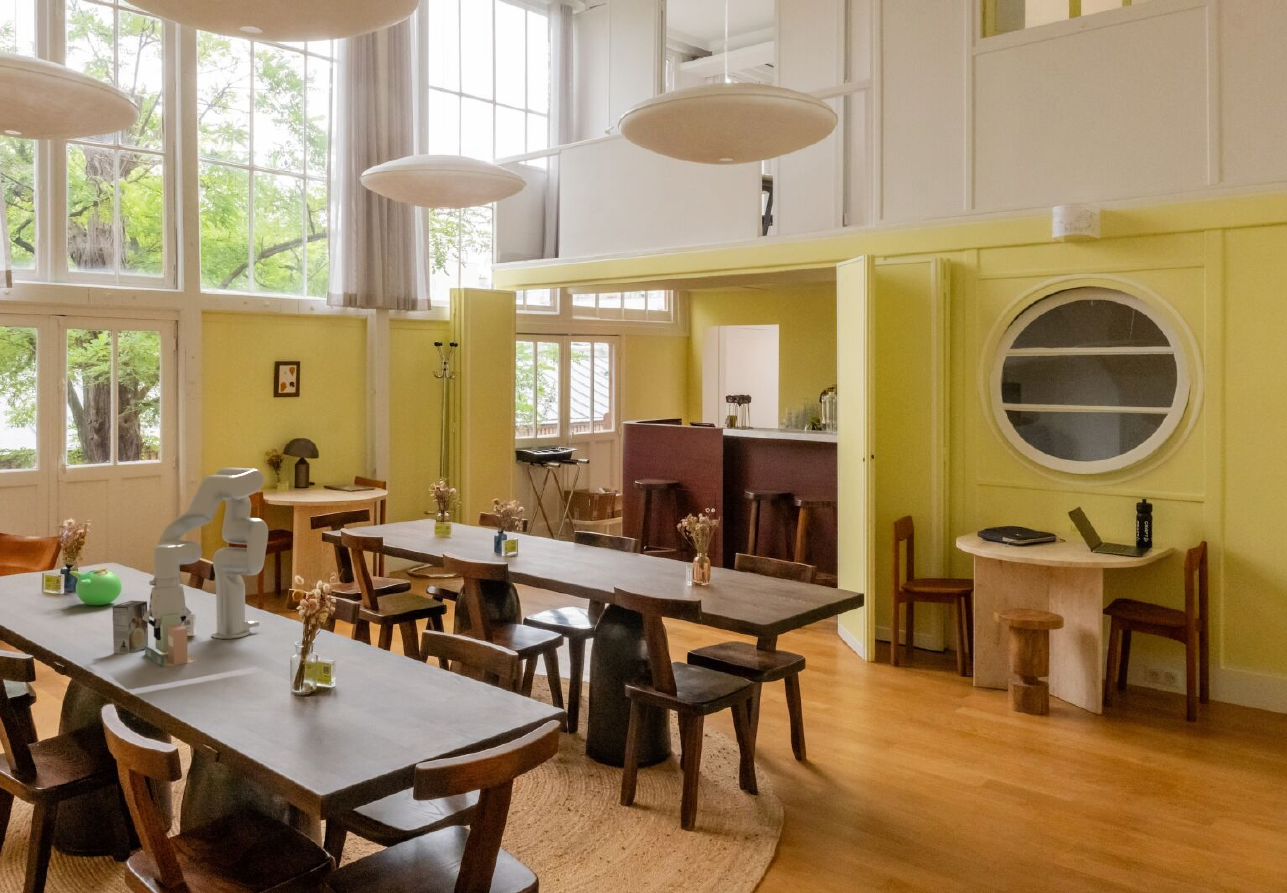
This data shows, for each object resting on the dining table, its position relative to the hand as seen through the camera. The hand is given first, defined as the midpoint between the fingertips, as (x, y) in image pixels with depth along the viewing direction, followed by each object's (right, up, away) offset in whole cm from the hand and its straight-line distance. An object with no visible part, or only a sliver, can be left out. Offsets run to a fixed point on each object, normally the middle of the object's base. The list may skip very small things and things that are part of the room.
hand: (167, 637), depth 320 cm
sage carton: (0, -4, 0) cm, 4 cm away
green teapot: (-65, -2, +75) cm, 99 cm away
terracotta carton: (+7, -6, -7) cm, 12 cm away
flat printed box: (+3, -8, -2) cm, 8 cm away
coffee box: (-17, -7, +11) cm, 21 cm away
